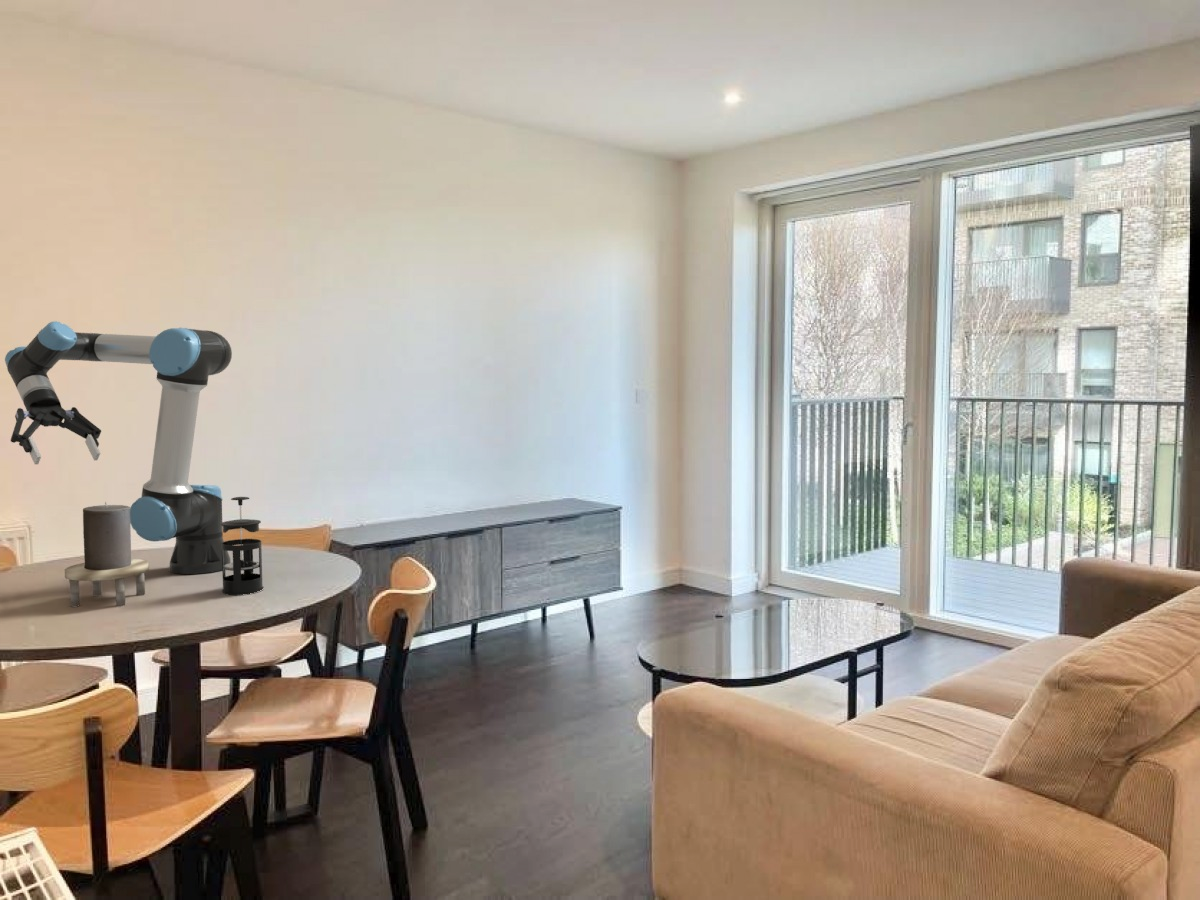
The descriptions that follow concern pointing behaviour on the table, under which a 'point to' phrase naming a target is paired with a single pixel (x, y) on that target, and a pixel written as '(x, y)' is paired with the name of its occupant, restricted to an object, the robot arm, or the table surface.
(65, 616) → the table surface
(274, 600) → the table surface
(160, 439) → the robot arm
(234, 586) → the french press
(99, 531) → the pillar candle
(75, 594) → the beige round legged stand
